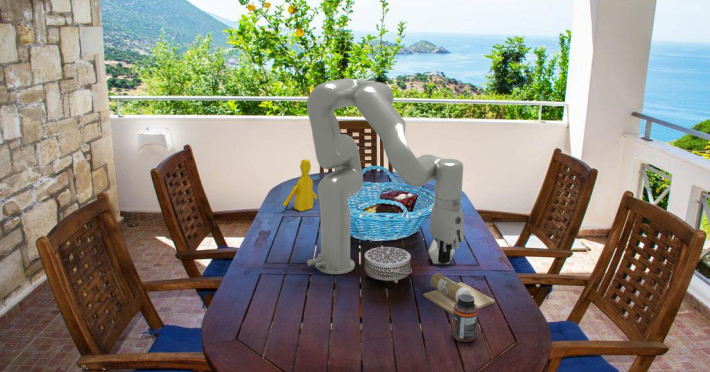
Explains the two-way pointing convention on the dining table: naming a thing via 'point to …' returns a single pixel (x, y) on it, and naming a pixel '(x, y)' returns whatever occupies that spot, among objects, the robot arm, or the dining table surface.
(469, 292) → the sprinkles bottle
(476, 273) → the dining table surface
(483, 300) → the board
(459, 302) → the supplement bottle
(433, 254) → the die
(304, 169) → the figure statuette
